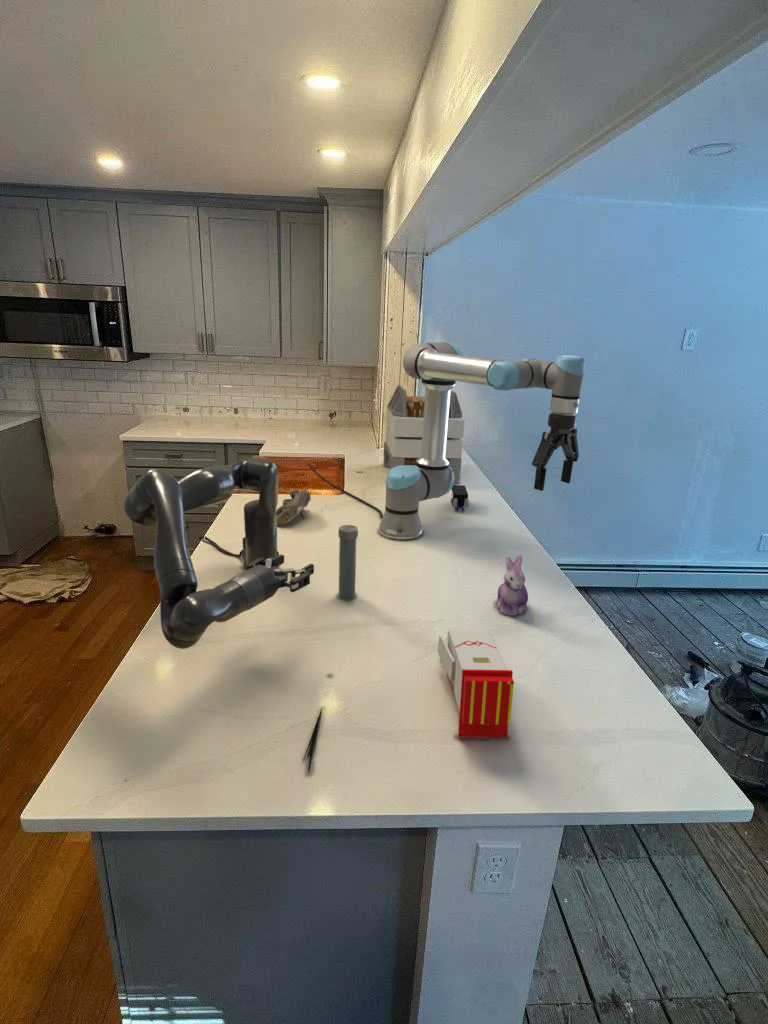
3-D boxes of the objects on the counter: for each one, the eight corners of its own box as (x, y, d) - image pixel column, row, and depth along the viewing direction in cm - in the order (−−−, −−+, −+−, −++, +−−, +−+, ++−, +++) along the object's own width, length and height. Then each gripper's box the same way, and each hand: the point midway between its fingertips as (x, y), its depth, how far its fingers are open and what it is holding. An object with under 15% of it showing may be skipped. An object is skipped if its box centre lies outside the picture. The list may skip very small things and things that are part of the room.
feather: (331, 679, 122) (336, 673, 122) (307, 777, 96) (313, 769, 95) (324, 675, 122) (329, 669, 121) (298, 772, 95) (304, 764, 95)
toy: (488, 613, 130) (523, 677, 101) (484, 667, 133) (517, 744, 104) (435, 612, 130) (455, 676, 101) (432, 666, 133) (451, 743, 103)
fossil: (279, 495, 220) (308, 475, 215) (295, 514, 223) (324, 494, 218) (263, 521, 201) (295, 499, 196) (281, 540, 203) (313, 519, 198)
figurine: (510, 620, 147) (517, 567, 142) (486, 602, 155) (492, 552, 150) (538, 612, 151) (545, 561, 146) (513, 595, 159) (519, 546, 154)
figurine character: (468, 516, 224) (463, 500, 237) (471, 498, 221) (465, 483, 234) (452, 515, 224) (447, 499, 237) (453, 498, 220) (449, 482, 234)
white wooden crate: (382, 463, 289) (386, 382, 275) (445, 464, 293) (451, 384, 279) (390, 482, 257) (394, 392, 243) (460, 483, 261) (468, 394, 247)
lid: (361, 535, 151) (361, 527, 150) (351, 541, 147) (351, 533, 146) (344, 531, 153) (345, 523, 152) (334, 537, 149) (335, 529, 148)
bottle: (357, 594, 157) (360, 529, 150) (349, 601, 153) (351, 534, 146) (344, 590, 159) (345, 525, 152) (335, 596, 155) (336, 530, 148)
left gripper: (224, 595, 122) (273, 569, 136) (276, 614, 116) (322, 586, 129) (223, 563, 120) (273, 540, 133) (276, 581, 113) (323, 555, 127)
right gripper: (548, 419, 148) (537, 496, 155) (598, 411, 163) (586, 482, 171) (525, 414, 153) (515, 489, 160) (575, 407, 169) (564, 476, 176)
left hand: (297, 563), depth 131 cm, fingers open, 8 cm apart
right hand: (552, 485), depth 166 cm, fingers open, 13 cm apart
